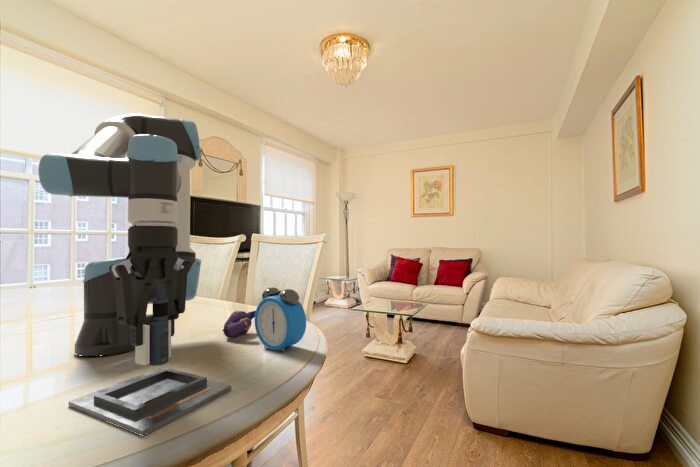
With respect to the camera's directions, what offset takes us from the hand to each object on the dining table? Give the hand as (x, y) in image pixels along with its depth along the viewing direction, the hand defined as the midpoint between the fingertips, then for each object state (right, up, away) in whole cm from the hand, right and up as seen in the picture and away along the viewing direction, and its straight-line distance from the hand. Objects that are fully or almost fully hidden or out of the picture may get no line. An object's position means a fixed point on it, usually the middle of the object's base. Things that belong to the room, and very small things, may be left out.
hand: (153, 359), depth 58 cm
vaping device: (0, -1, 0) cm, 1 cm away
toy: (+3, -8, +38) cm, 39 cm away
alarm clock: (+17, -7, +26) cm, 32 cm away
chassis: (0, -7, 0) cm, 7 cm away
